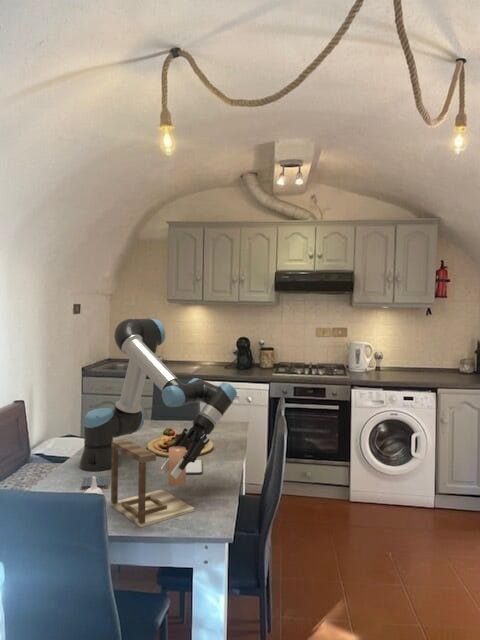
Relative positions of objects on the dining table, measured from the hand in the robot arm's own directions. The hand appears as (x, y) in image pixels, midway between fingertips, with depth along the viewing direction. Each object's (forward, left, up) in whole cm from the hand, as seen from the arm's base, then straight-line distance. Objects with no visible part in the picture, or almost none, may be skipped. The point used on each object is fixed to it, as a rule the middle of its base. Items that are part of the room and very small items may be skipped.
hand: (168, 473), depth 170 cm
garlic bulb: (-20, -18, -11) cm, 29 cm away
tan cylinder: (0, +4, -4) cm, 5 cm away
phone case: (-26, +28, -11) cm, 40 cm away
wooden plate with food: (-54, +40, -11) cm, 68 cm away
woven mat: (-33, -12, -11) cm, 36 cm away
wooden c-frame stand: (-1, -6, -11) cm, 12 cm away
